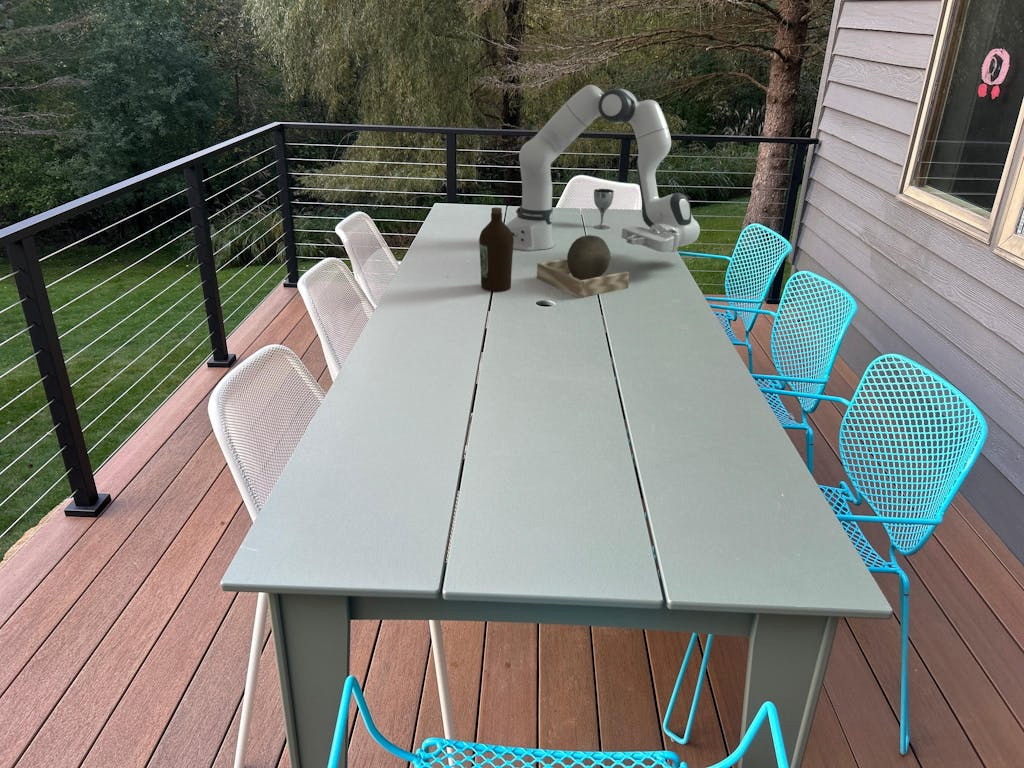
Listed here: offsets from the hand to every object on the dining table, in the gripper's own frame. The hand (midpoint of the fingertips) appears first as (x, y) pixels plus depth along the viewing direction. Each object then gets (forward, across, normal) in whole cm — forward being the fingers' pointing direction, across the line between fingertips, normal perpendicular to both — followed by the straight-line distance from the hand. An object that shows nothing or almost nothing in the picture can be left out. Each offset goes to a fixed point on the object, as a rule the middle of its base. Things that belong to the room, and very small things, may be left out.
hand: (629, 241), depth 253 cm
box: (+19, +1, +11) cm, 22 cm away
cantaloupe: (+17, 0, +12) cm, 21 cm away
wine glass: (-34, -54, +12) cm, 65 cm away
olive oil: (+46, -10, +12) cm, 48 cm away
